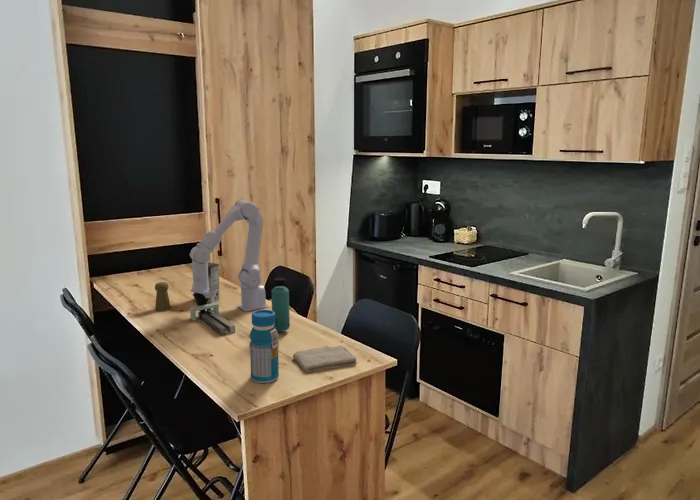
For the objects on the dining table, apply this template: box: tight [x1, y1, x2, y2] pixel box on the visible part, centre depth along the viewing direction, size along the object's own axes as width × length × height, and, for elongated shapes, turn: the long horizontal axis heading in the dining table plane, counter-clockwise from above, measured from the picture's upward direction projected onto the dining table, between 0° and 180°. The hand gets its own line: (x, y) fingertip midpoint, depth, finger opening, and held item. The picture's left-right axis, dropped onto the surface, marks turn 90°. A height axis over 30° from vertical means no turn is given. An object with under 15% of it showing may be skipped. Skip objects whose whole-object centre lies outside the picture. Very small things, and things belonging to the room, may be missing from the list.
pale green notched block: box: [189, 302, 220, 322], centre depth 205 cm, size 10×2×5 cm, turn 126°
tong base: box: [197, 310, 227, 336], centre depth 198 cm, size 5×22×2 cm, turn 36°
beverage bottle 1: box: [248, 309, 280, 384], centre depth 154 cm, size 8×8×20 cm
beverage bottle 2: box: [271, 277, 291, 332], centre depth 191 cm, size 6×7×20 cm
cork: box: [154, 281, 172, 312], centre depth 214 cm, size 6×6×11 cm
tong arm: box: [205, 308, 236, 334], centre depth 199 cm, size 2×21×3 cm, turn 38°
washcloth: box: [292, 345, 357, 373], centre depth 168 cm, size 12×18×3 cm, turn 115°
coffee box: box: [193, 261, 221, 304], centre depth 226 cm, size 9×6×16 cm
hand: (202, 311), depth 208 cm, fingers closed
